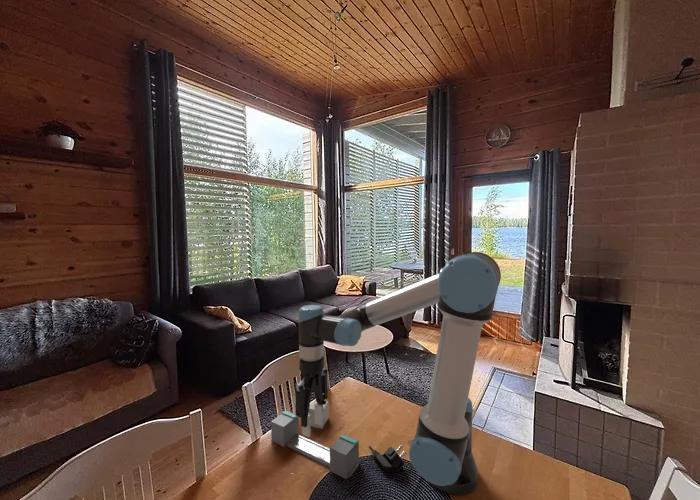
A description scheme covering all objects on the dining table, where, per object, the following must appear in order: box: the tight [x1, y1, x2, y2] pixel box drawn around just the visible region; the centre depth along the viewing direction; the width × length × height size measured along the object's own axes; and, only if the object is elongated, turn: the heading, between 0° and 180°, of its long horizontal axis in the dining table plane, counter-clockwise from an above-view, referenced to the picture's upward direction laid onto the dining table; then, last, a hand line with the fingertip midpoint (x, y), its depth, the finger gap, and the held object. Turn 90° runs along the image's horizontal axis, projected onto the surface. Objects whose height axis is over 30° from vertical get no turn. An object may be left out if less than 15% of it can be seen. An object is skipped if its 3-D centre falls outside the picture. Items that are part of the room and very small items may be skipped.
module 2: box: [308, 399, 329, 430], centre depth 109 cm, size 5×6×7 cm
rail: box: [285, 434, 360, 478], centre depth 95 cm, size 30×5×1 cm, turn 58°
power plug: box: [368, 444, 407, 473], centre depth 91 cm, size 6×8×12 cm
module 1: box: [270, 410, 300, 448], centre depth 101 cm, size 6×7×7 cm
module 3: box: [329, 433, 360, 480], centre depth 89 cm, size 6×7×7 cm
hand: (312, 429), depth 95 cm, fingers open, 5 cm apart
